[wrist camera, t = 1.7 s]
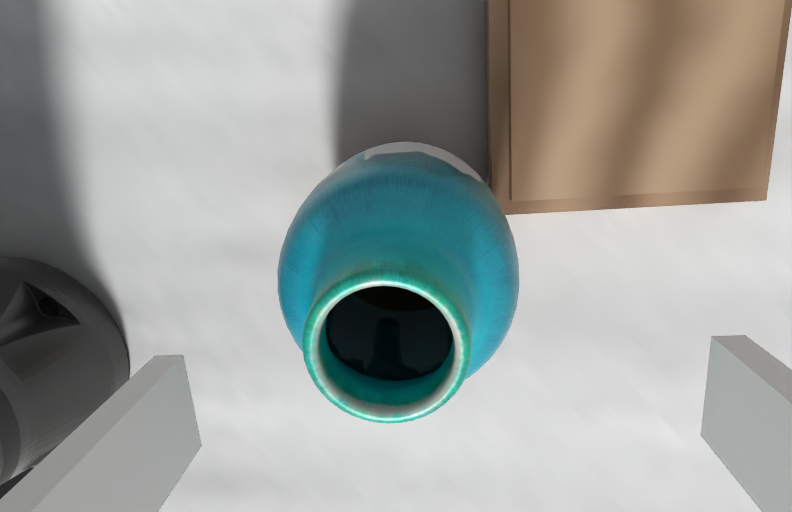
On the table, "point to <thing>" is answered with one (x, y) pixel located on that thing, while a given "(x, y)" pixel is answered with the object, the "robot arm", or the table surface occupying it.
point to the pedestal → (631, 101)
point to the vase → (398, 280)
